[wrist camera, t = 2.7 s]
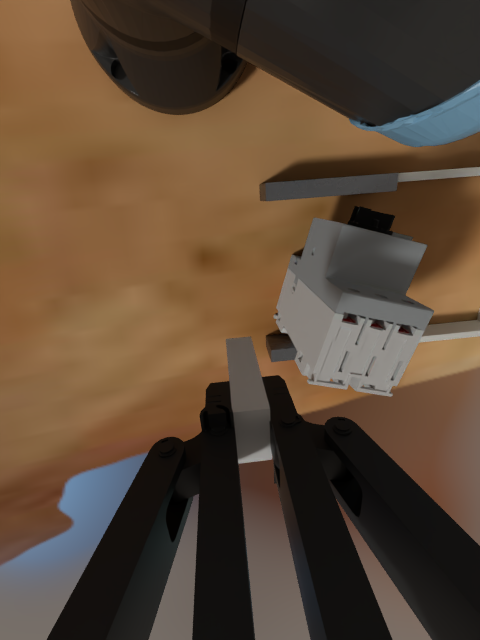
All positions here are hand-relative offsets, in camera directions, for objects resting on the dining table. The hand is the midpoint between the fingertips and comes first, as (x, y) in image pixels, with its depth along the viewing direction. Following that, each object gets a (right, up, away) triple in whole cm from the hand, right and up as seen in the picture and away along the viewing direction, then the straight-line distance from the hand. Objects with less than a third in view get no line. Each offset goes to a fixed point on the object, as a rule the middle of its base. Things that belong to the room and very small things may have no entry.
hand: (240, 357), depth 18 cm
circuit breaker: (+10, +9, +18) cm, 22 cm away
